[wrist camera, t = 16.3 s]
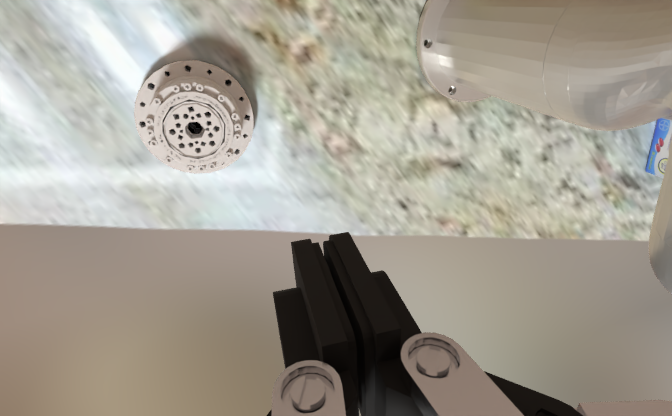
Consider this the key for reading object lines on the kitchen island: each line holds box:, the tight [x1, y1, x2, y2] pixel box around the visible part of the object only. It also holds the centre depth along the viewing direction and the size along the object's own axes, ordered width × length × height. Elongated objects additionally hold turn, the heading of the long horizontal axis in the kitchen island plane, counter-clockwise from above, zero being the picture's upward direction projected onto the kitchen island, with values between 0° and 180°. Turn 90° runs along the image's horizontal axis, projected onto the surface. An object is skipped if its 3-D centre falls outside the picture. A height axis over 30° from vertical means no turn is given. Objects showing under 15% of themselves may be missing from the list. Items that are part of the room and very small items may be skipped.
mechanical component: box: [134, 60, 254, 173], centre depth 34 cm, size 10×4×10 cm
